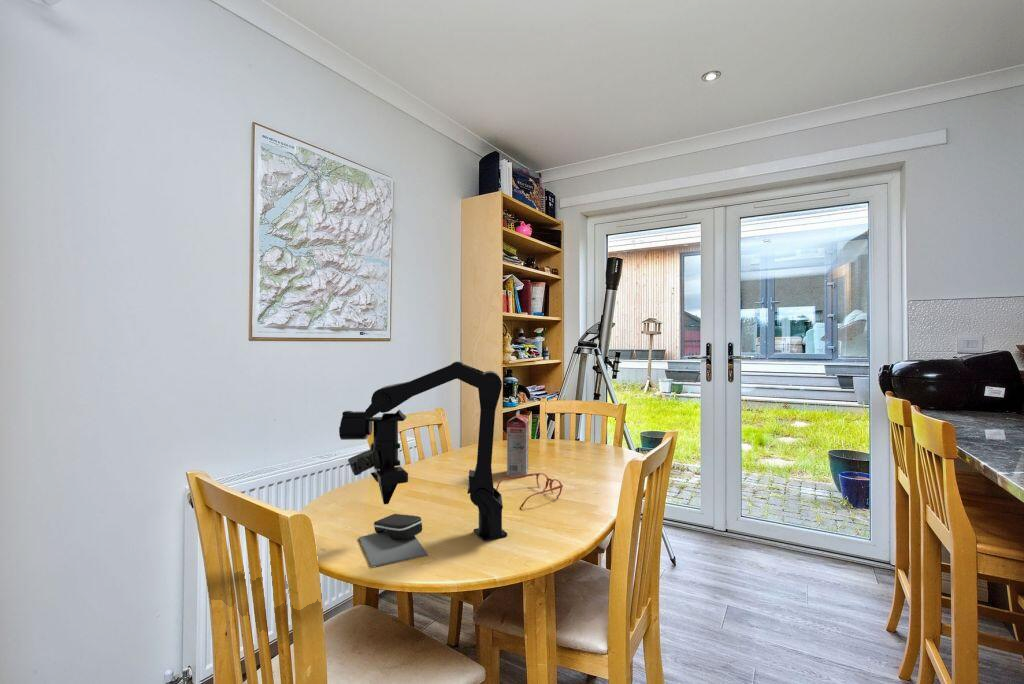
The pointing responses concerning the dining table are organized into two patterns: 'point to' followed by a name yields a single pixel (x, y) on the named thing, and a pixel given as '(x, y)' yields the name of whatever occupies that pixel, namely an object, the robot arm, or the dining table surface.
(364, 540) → the mat
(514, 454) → the juice carton
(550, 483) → the red eyeglasses
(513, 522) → the dining table surface
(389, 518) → the battery charger
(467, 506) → the dining table surface
